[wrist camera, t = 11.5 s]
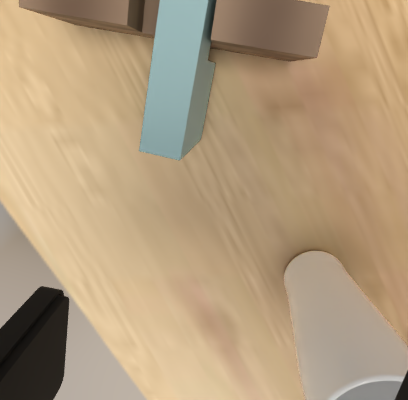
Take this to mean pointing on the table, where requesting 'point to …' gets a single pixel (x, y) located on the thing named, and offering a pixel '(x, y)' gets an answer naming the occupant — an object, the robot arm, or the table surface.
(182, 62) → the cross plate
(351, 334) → the drinking glass
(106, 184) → the table surface
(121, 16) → the slotted stand
